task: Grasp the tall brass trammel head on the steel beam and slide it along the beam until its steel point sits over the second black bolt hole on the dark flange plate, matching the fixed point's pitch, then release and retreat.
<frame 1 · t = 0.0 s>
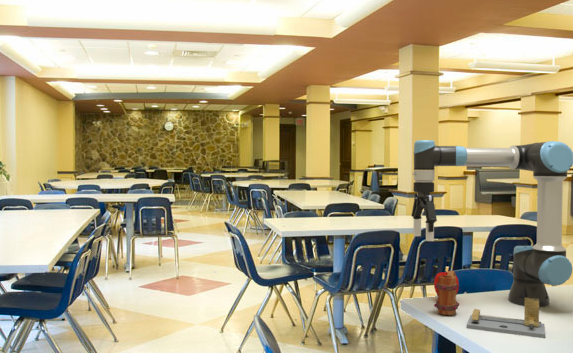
hand: (423, 238, 197), 28 cm above the table, fingers open, 13 cm apart
flange plate: (505, 327, 180), on the table
beam: (505, 319, 179), on the flange plate, point 3 cm above the table
apple: (446, 301, 217), on the table
trammel head: (531, 313, 177), point 6 cm above the table, slide at 0.0 cm
mug: (448, 312, 199), on the table
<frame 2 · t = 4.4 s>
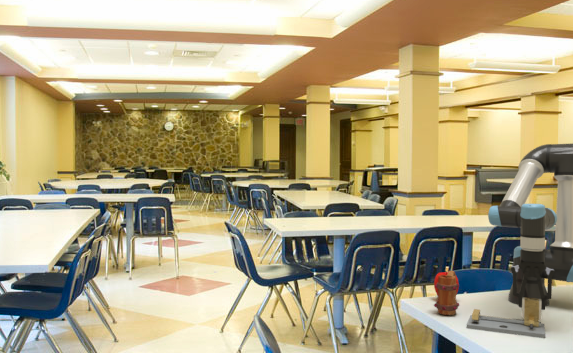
hand: (531, 317, 179), 4 cm above the table, fingers closed on trammel head, 4 cm apart
trammel head: (531, 313, 177), point 6 cm above the table, slide at 0.0 cm, touching gripper
everything else where it was.
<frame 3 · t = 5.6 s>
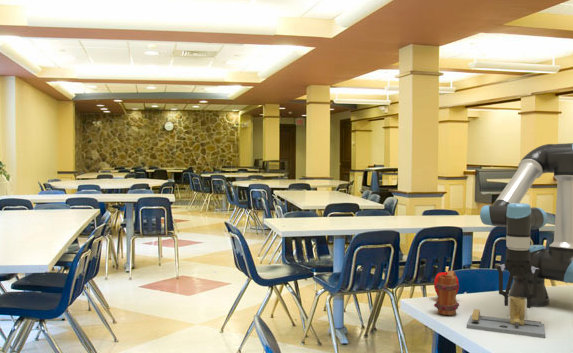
hand: (517, 316, 181), 4 cm above the table, fingers closed on trammel head, 4 cm apart
trammel head: (517, 311, 179), point 6 cm above the table, slide at 4.5 cm, touching gripper
everything else where it was.
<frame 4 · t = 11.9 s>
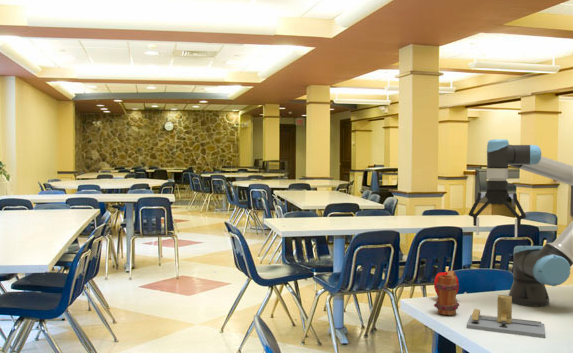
hand: (496, 235, 201), 29 cm above the table, fingers open, 13 cm apart
trammel head: (504, 310, 180), point 6 cm above the table, slide at 8.5 cm
everything else where it was.
at the end: trammel head slide at 8.5 cm; the gripper is holding nothing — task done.
